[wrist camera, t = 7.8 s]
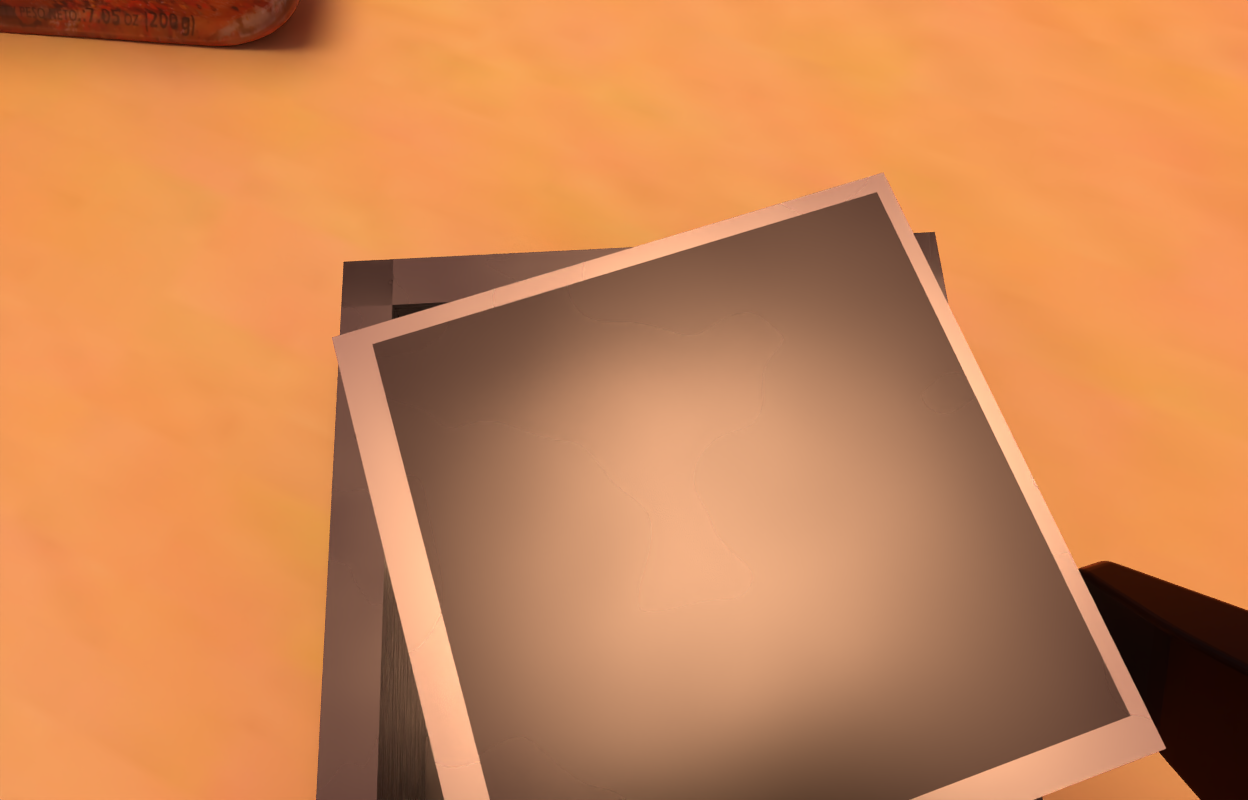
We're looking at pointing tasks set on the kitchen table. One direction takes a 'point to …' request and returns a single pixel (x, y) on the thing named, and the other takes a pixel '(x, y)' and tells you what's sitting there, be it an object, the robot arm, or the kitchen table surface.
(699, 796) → the block
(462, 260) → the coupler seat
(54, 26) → the tin
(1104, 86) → the kitchen table surface
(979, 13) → the kitchen table surface
